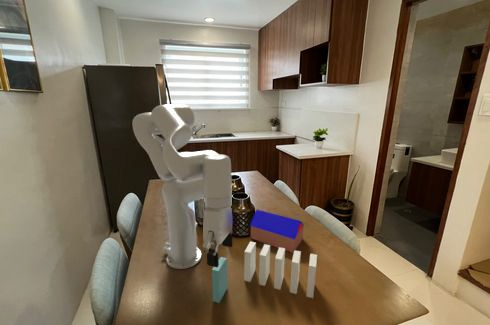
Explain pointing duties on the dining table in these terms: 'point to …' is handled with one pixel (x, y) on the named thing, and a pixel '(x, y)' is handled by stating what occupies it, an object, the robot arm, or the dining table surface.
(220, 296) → the domino
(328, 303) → the dining table surface
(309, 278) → the domino
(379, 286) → the dining table surface
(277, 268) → the domino
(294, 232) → the house
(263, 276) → the domino
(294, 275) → the domino
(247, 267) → the domino
